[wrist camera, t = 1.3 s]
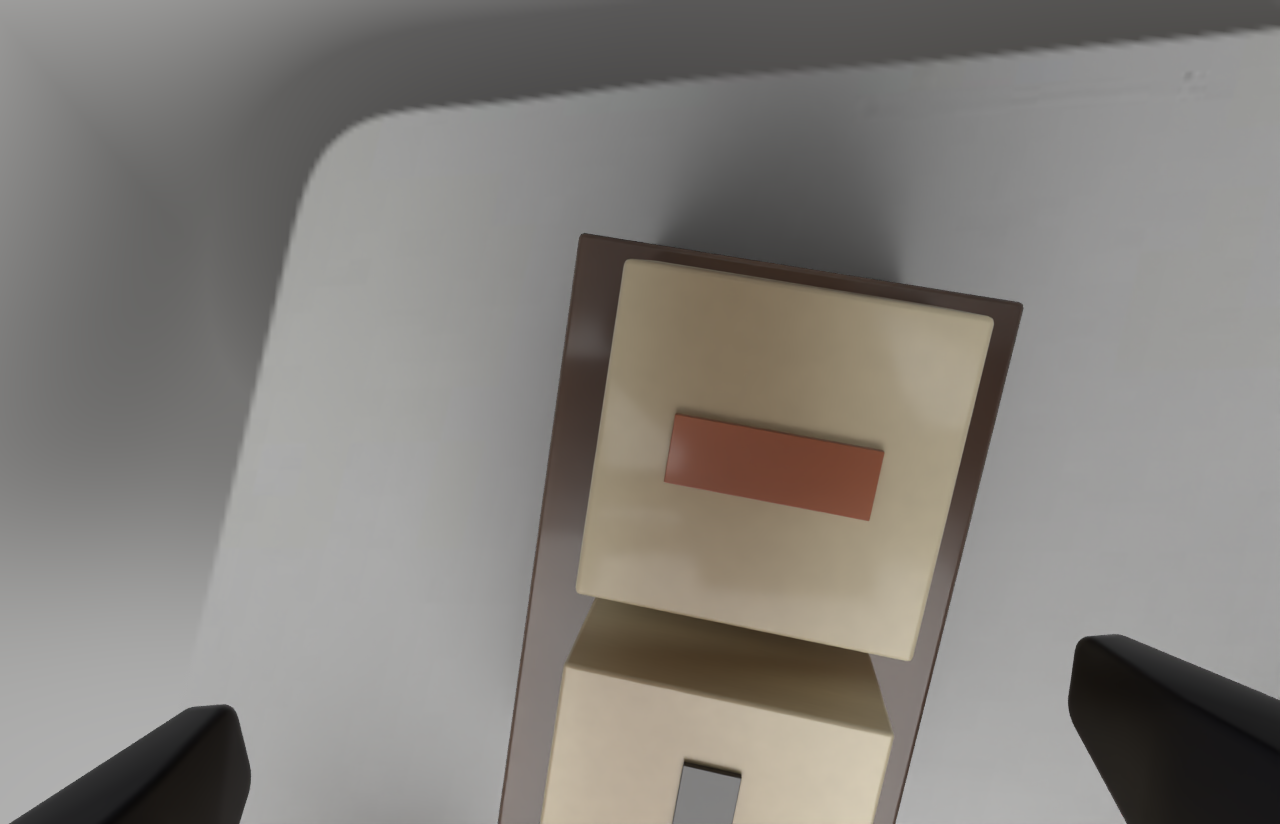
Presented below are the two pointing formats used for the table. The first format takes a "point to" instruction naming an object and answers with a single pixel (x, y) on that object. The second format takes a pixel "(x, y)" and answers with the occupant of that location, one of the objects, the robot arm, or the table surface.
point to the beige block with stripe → (778, 454)
